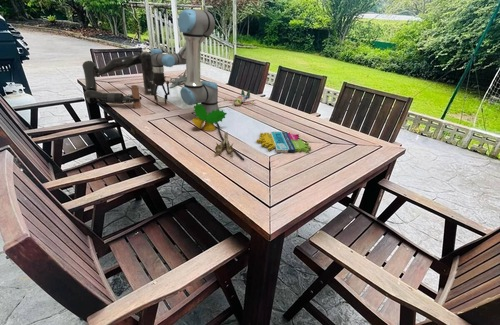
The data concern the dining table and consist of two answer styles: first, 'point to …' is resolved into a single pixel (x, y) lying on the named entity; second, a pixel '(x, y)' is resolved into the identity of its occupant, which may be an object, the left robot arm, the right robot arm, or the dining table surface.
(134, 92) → the jar
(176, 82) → the airplane
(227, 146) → the jawbone
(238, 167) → the dining table surface
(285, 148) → the sign
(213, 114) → the ornament
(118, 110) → the dining table surface
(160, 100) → the lid
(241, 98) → the toy
